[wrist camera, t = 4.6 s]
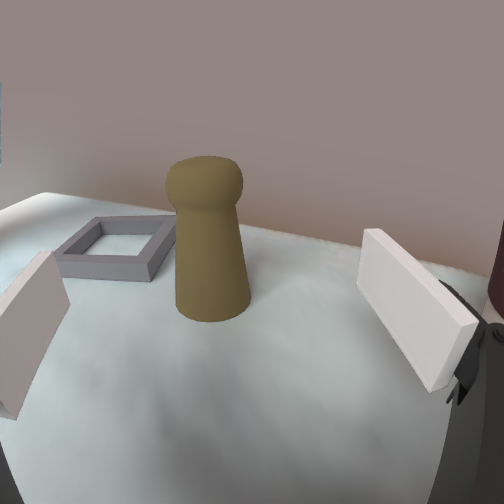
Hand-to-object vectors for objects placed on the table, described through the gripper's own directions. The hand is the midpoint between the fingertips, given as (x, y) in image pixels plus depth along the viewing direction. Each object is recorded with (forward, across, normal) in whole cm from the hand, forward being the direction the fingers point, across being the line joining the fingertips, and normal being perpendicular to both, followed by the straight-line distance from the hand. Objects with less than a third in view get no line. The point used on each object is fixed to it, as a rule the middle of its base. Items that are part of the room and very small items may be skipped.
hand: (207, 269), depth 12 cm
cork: (+10, 0, -8) cm, 13 cm away
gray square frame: (+20, -11, -8) cm, 24 cm away
